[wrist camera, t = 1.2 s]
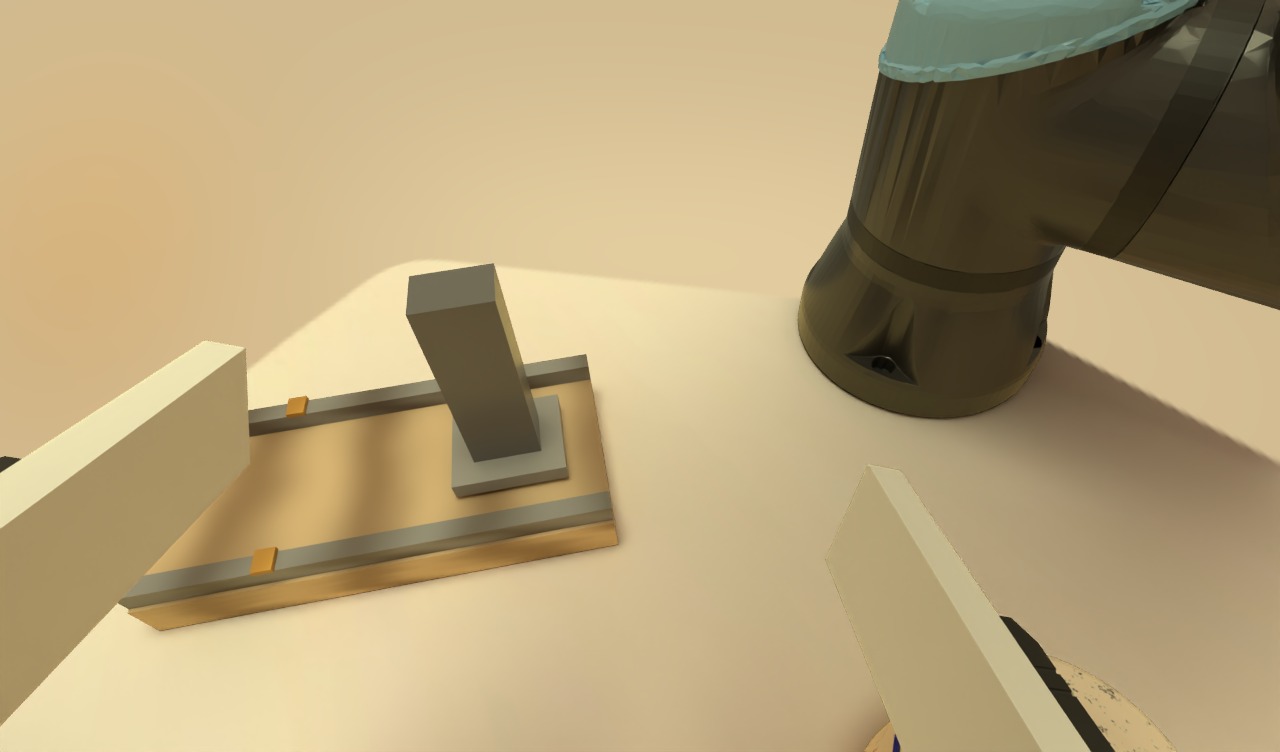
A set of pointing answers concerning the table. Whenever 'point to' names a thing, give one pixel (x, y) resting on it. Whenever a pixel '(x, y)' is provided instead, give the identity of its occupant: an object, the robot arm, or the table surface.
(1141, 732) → the teacup with lid
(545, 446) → the fader tab
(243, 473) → the fader console
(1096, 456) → the table surface
